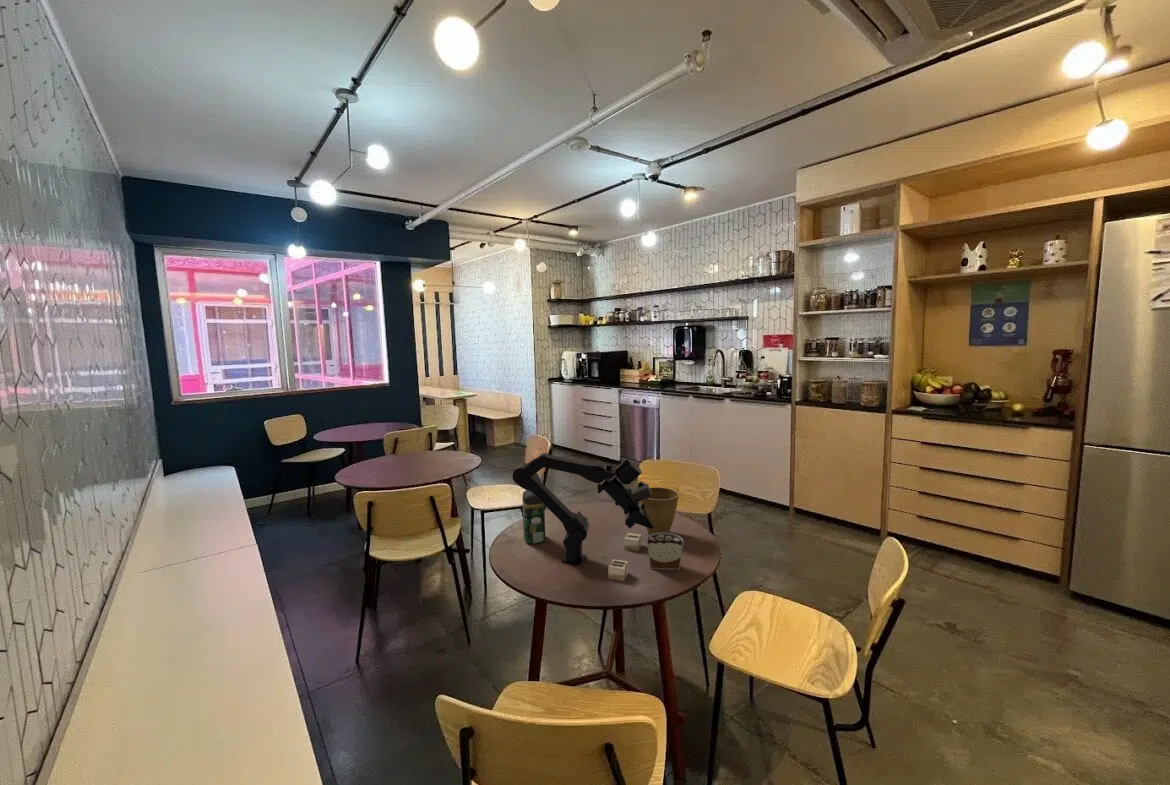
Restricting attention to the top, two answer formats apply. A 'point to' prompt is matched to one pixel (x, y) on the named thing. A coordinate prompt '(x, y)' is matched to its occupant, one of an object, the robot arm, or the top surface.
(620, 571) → the numbered tile two
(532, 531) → the coffee jar
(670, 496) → the plant pot
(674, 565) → the food container
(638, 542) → the numbered tile one
